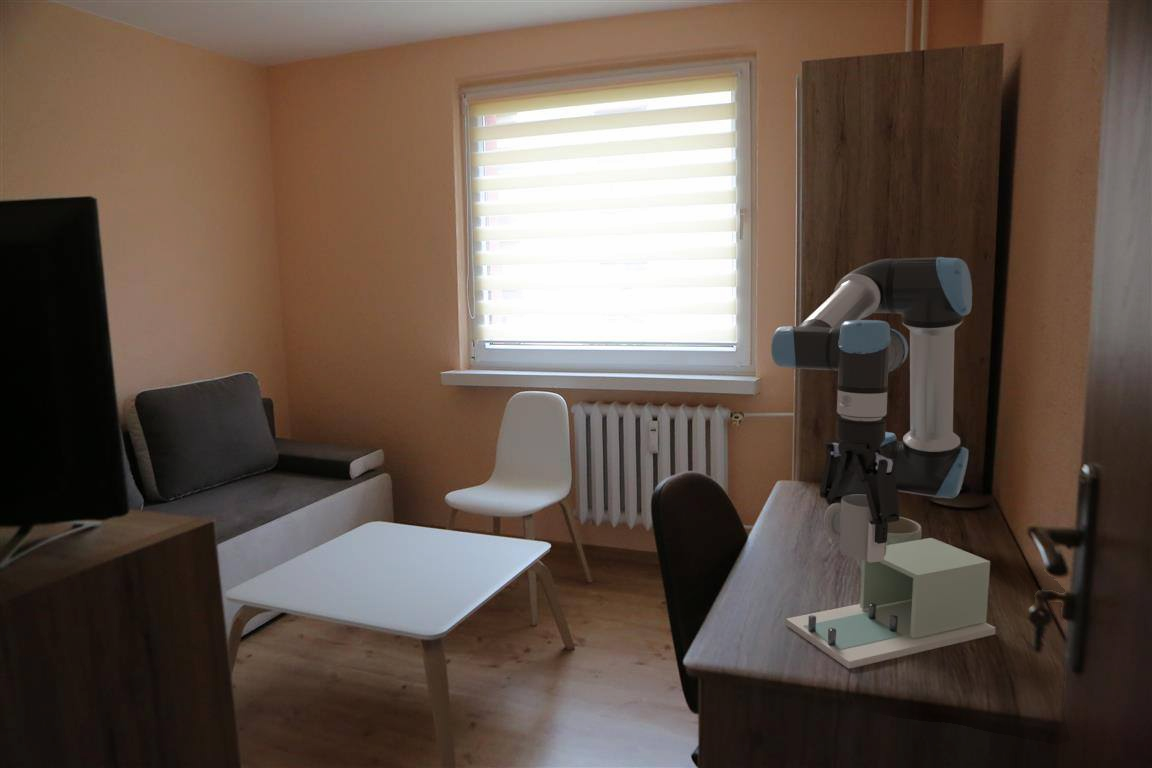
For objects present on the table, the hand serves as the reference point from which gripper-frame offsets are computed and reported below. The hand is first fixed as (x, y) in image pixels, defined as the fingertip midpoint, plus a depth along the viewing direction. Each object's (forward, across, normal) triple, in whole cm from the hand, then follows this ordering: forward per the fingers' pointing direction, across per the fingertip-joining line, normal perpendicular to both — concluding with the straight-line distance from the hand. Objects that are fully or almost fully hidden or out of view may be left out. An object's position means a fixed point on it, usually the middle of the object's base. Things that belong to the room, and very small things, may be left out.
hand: (855, 551), depth 125 cm
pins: (+14, 0, 0) cm, 14 cm away
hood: (+14, 0, +15) cm, 20 cm away
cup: (0, 0, 0) cm, 1 cm away
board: (+15, 0, +8) cm, 17 cm away
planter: (+15, -19, +24) cm, 35 cm away
